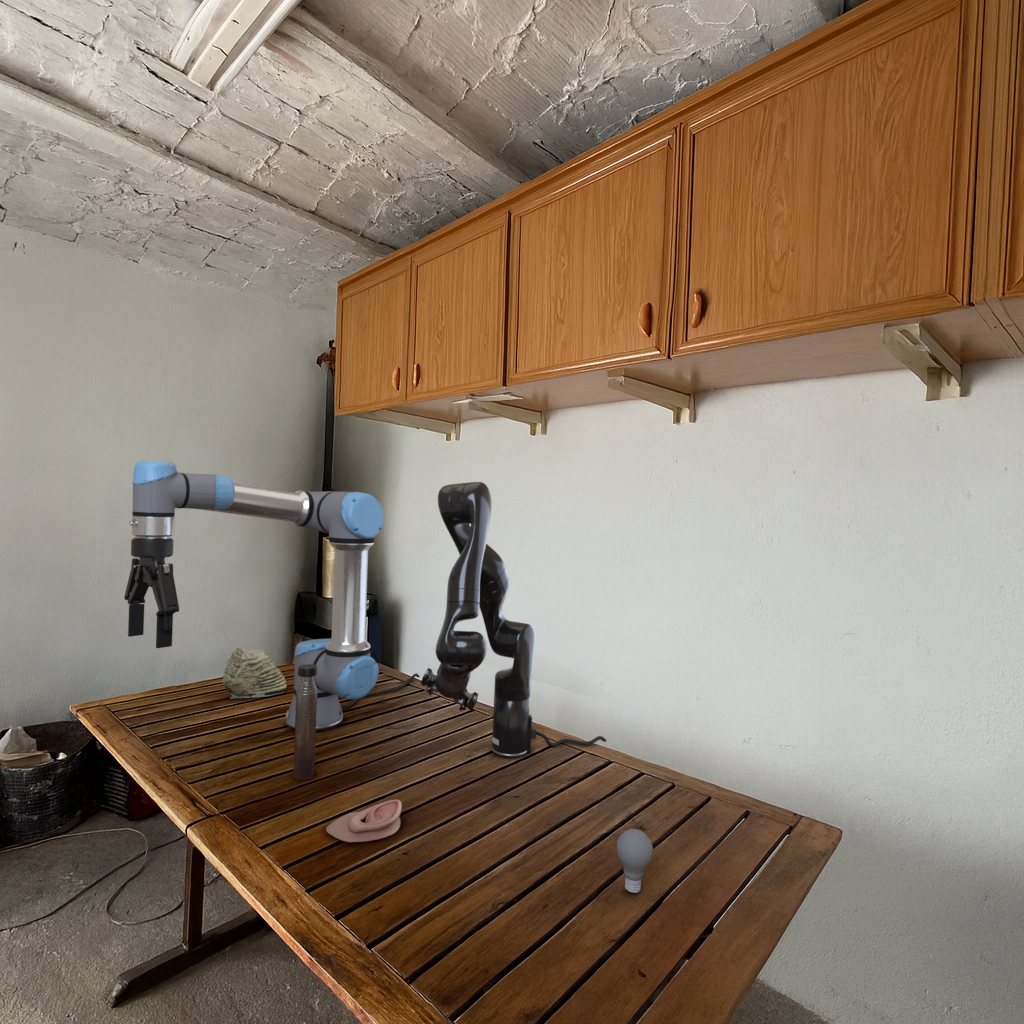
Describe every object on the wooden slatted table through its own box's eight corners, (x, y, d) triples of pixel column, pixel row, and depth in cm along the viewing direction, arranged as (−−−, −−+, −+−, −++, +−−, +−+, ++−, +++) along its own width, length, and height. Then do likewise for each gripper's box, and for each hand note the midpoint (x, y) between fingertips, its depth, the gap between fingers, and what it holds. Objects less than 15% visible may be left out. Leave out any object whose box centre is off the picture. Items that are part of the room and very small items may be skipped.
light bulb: (610, 879, 108) (613, 822, 108) (644, 879, 109) (647, 822, 109) (619, 902, 102) (622, 840, 102) (655, 901, 103) (658, 840, 103)
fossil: (218, 695, 195) (220, 647, 195) (278, 685, 208) (279, 640, 207) (228, 703, 189) (230, 653, 188) (289, 692, 201) (290, 645, 201)
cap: (295, 676, 141) (295, 668, 141) (302, 671, 145) (302, 663, 145) (312, 677, 141) (313, 669, 141) (319, 672, 145) (319, 664, 145)
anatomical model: (318, 816, 117) (346, 789, 129) (317, 837, 118) (346, 808, 129) (385, 827, 115) (408, 798, 126) (384, 848, 115) (407, 818, 126)
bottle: (289, 779, 141) (293, 670, 141) (297, 771, 146) (301, 664, 145) (309, 781, 141) (313, 671, 140) (317, 772, 145) (321, 666, 145)
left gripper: (108, 533, 134) (105, 633, 134) (159, 542, 118) (155, 655, 118) (146, 532, 140) (143, 628, 140) (200, 541, 124) (196, 649, 124)
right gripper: (487, 676, 147) (478, 699, 160) (433, 648, 149) (428, 673, 162) (473, 704, 143) (465, 726, 156) (418, 675, 144) (414, 699, 158)
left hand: (149, 641), depth 129 cm, fingers open, 13 cm apart
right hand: (446, 699), depth 159 cm, fingers open, 8 cm apart
